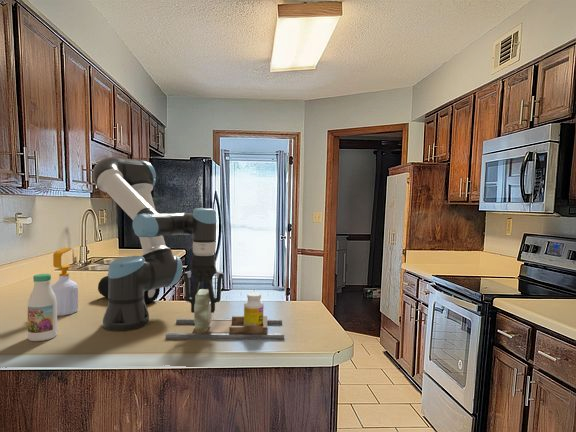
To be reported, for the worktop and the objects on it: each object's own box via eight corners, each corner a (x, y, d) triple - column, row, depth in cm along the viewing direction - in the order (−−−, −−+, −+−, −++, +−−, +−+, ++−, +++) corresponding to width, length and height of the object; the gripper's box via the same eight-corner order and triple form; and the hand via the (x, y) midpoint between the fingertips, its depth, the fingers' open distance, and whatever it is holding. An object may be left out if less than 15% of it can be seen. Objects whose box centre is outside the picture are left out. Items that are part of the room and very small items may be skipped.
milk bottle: (37, 332, 120) (36, 272, 119) (61, 332, 120) (61, 272, 119) (22, 342, 112) (21, 277, 111) (48, 342, 113) (48, 277, 112)
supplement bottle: (260, 335, 123) (261, 297, 122) (241, 333, 124) (241, 296, 123) (264, 328, 130) (265, 292, 129) (246, 326, 131) (247, 291, 130)
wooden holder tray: (192, 336, 120) (192, 296, 119) (198, 323, 131) (199, 287, 131) (267, 336, 121) (268, 297, 121) (266, 324, 133) (267, 288, 132)
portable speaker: (160, 300, 160) (161, 277, 160) (145, 306, 151) (146, 282, 150) (113, 294, 168) (113, 272, 167) (96, 299, 158) (96, 276, 158)
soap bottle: (83, 310, 143) (83, 248, 141) (60, 317, 134) (59, 251, 133) (68, 307, 146) (67, 246, 145) (44, 313, 138) (44, 248, 137)
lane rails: (165, 339, 117) (165, 334, 117) (177, 322, 133) (177, 318, 133) (284, 339, 120) (284, 334, 120) (281, 323, 135) (282, 319, 135)
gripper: (175, 255, 120) (174, 325, 121) (228, 256, 121) (227, 325, 122) (180, 251, 127) (179, 318, 129) (230, 252, 129) (229, 318, 130)
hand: (202, 321), depth 126 cm, fingers closed on wooden holder tray, 4 cm apart
